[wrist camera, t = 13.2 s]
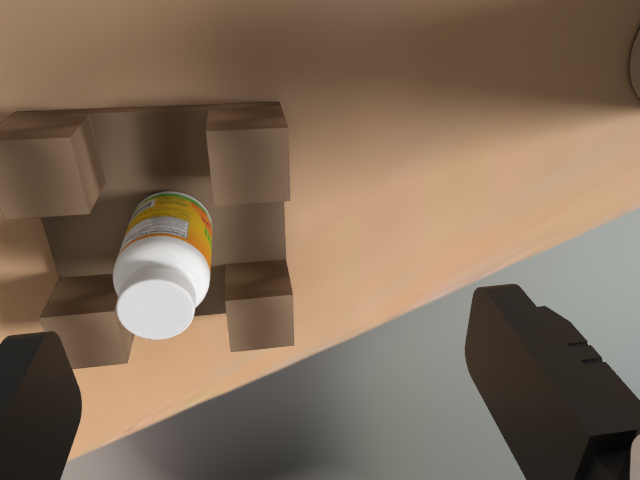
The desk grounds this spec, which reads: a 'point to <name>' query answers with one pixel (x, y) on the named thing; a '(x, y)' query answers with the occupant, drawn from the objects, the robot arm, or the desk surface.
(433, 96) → the desk surface
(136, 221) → the supplement bottle
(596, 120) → the desk surface
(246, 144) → the cross slot block
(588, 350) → the robot arm
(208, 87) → the desk surface
